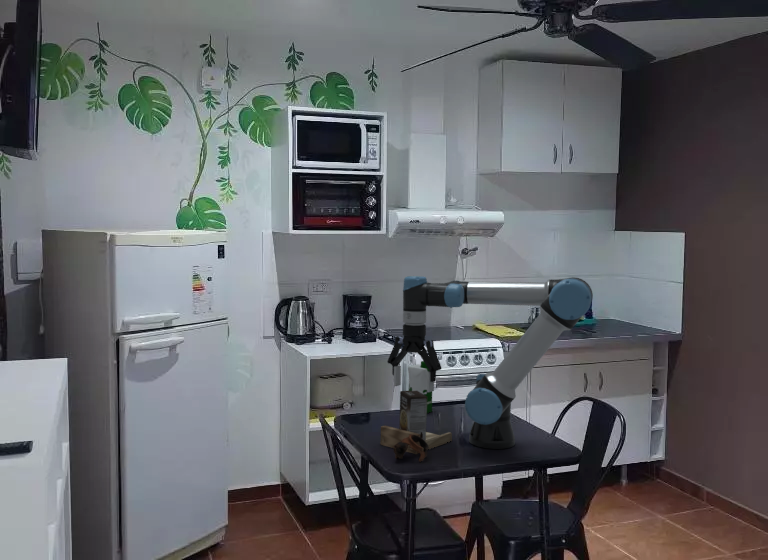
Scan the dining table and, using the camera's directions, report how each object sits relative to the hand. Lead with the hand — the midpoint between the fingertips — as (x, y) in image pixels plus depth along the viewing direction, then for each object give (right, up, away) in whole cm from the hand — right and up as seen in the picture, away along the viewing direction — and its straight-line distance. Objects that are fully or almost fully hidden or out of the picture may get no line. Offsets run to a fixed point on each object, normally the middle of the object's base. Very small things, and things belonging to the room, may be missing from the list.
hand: (413, 388), depth 233 cm
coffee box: (0, -18, +1) cm, 18 cm away
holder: (+1, -19, +3) cm, 19 cm away
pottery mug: (-2, -20, -13) cm, 24 cm away
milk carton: (+4, -16, +45) cm, 48 cm away
